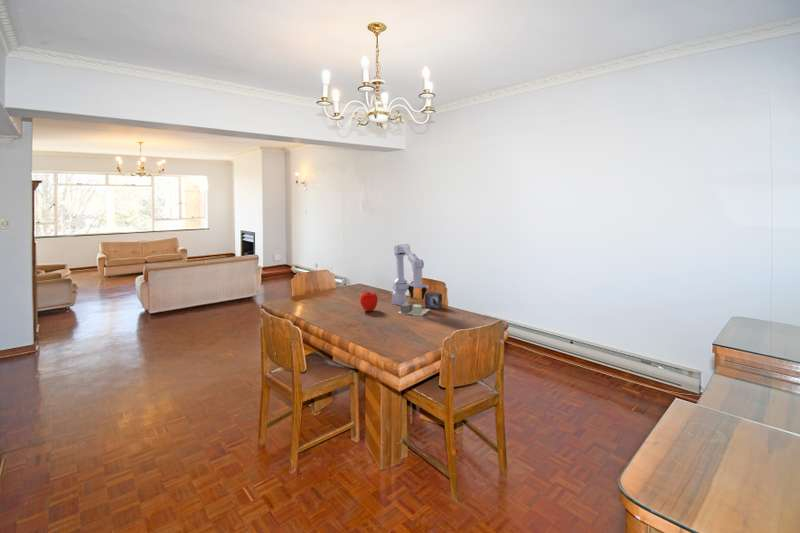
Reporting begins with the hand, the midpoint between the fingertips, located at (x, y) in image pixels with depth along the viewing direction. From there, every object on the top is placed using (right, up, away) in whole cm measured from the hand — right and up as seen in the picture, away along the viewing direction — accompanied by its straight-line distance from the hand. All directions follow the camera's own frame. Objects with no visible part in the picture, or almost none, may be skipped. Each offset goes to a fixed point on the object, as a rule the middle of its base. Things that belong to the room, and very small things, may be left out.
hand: (417, 298), depth 263 cm
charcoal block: (-8, -10, +4) cm, 13 cm away
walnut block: (-4, -8, +11) cm, 14 cm away
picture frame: (+12, -8, +16) cm, 21 cm away
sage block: (0, -10, +2) cm, 10 cm away
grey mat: (-2, -10, +6) cm, 12 cm away
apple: (-33, -10, +7) cm, 35 cm away
